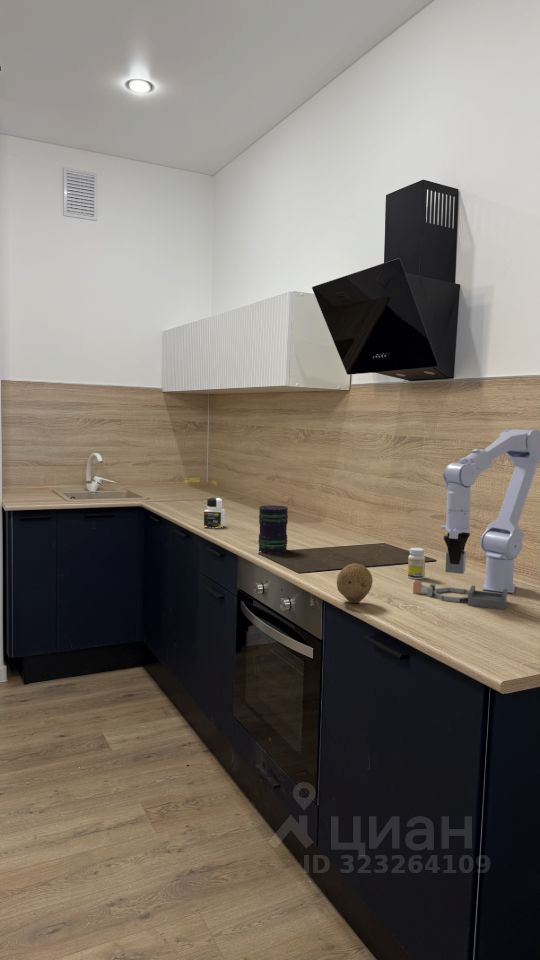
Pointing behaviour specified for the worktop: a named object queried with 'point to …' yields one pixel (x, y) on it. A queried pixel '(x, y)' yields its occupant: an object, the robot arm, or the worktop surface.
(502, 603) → the rack
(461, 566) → the gold-capped square jar
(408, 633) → the worktop surface
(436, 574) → the worktop surface
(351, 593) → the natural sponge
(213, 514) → the medicine bottle
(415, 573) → the supplement bottle
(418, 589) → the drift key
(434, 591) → the socket
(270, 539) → the storage jar
